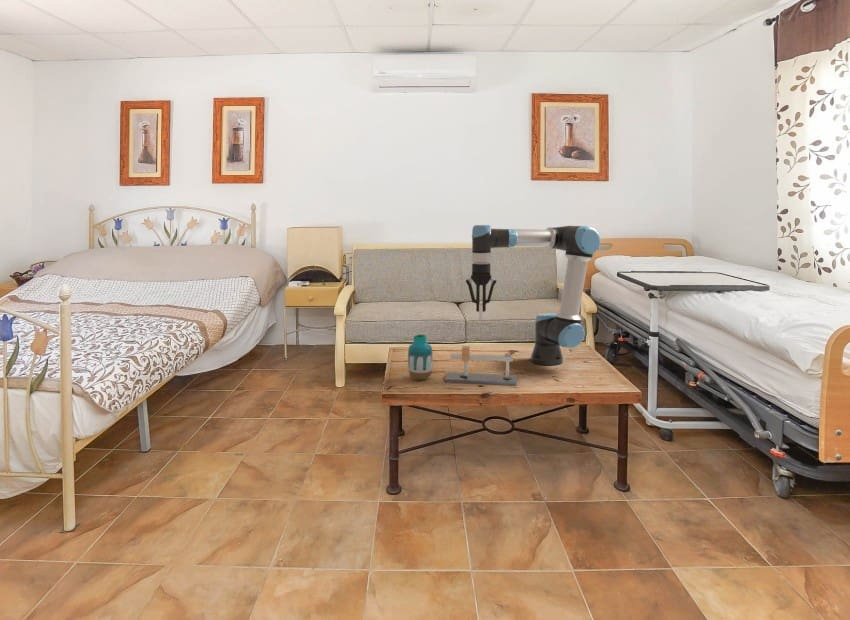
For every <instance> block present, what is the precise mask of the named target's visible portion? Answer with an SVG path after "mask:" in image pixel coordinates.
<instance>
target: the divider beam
mask: <svg viewBox="0 0 850 620" xmlns="http://www.w3.org/2000/svg"><path fill="white" fill-rule="evenodd" d="M513 357H514V355H512V353H507V352H506V353H504V355H503V354H476V353H475V354H474V353H470V354H469V361H485V362H486V361H489V362H490V361H491V362H505V375H506V379H509V375H510V362H512V363H513V361H514V359H513ZM450 360H462V353H454V352H452V353H450Z"/></svg>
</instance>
